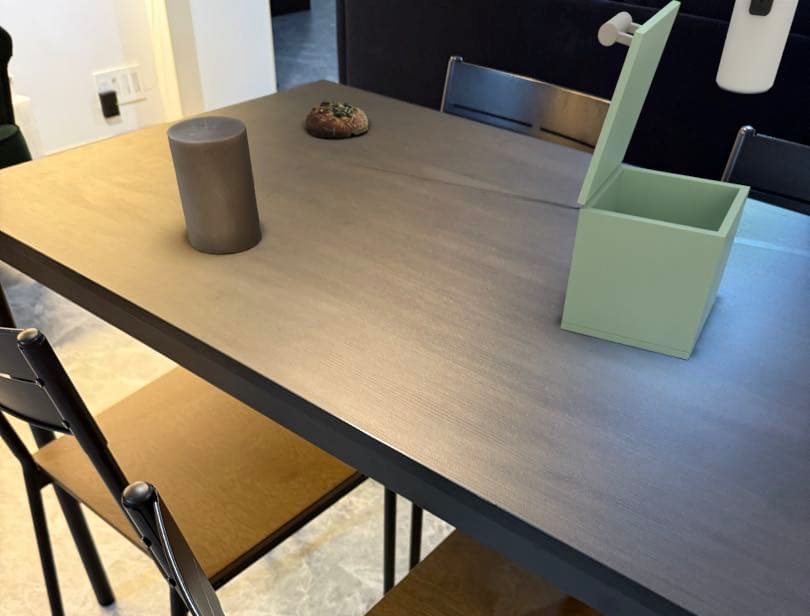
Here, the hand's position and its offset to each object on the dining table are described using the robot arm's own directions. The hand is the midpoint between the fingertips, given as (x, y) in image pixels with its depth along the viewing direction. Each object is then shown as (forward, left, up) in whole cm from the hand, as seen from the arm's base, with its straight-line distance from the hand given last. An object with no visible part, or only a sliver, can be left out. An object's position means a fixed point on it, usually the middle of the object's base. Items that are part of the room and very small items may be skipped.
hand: (764, 8), depth 85 cm
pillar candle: (+57, +31, -26) cm, 69 cm away
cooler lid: (+7, +25, -4) cm, 27 cm away
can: (0, 0, -8) cm, 8 cm away
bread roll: (+66, -14, -26) cm, 72 cm away
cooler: (+2, +26, -26) cm, 36 cm away
